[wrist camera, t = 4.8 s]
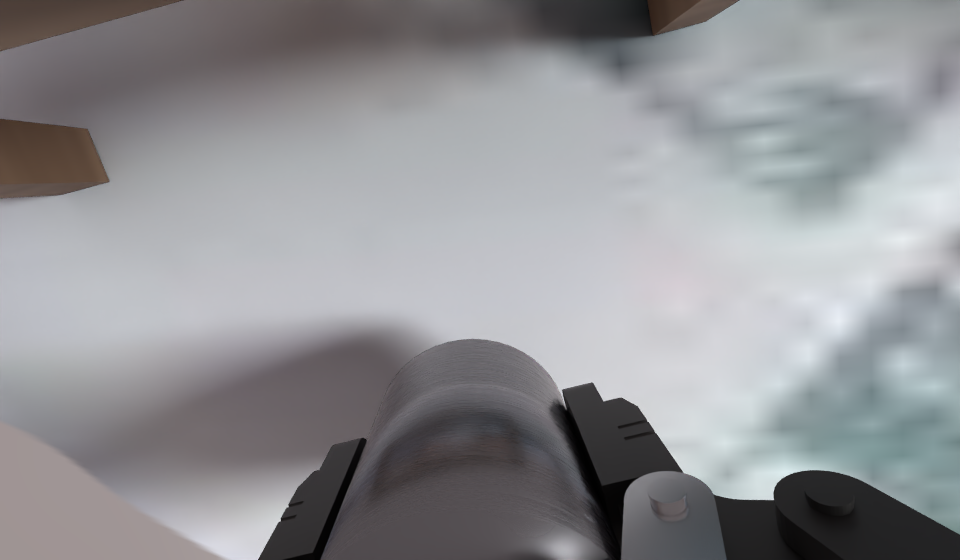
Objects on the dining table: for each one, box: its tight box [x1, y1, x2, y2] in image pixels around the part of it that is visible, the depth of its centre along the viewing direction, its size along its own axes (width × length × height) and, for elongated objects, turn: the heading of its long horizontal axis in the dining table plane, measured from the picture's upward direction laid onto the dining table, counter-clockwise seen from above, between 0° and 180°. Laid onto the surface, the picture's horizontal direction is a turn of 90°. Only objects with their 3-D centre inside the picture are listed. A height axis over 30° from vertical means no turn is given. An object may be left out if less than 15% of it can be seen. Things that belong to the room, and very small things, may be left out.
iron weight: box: [321, 339, 621, 560], centre depth 9 cm, size 5×5×6 cm
